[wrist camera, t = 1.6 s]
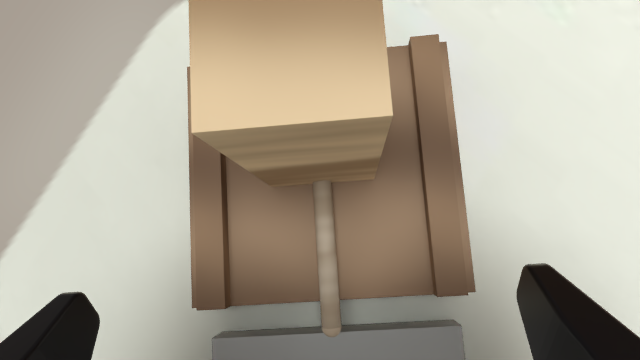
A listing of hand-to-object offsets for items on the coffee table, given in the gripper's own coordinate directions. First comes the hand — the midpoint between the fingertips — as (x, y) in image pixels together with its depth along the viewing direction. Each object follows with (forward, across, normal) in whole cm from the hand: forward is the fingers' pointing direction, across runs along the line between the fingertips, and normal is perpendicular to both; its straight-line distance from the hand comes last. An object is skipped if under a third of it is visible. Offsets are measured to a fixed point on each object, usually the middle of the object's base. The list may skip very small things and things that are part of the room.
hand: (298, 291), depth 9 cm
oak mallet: (+9, 0, +5) cm, 10 cm away
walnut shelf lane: (+11, 0, +6) cm, 13 cm away
